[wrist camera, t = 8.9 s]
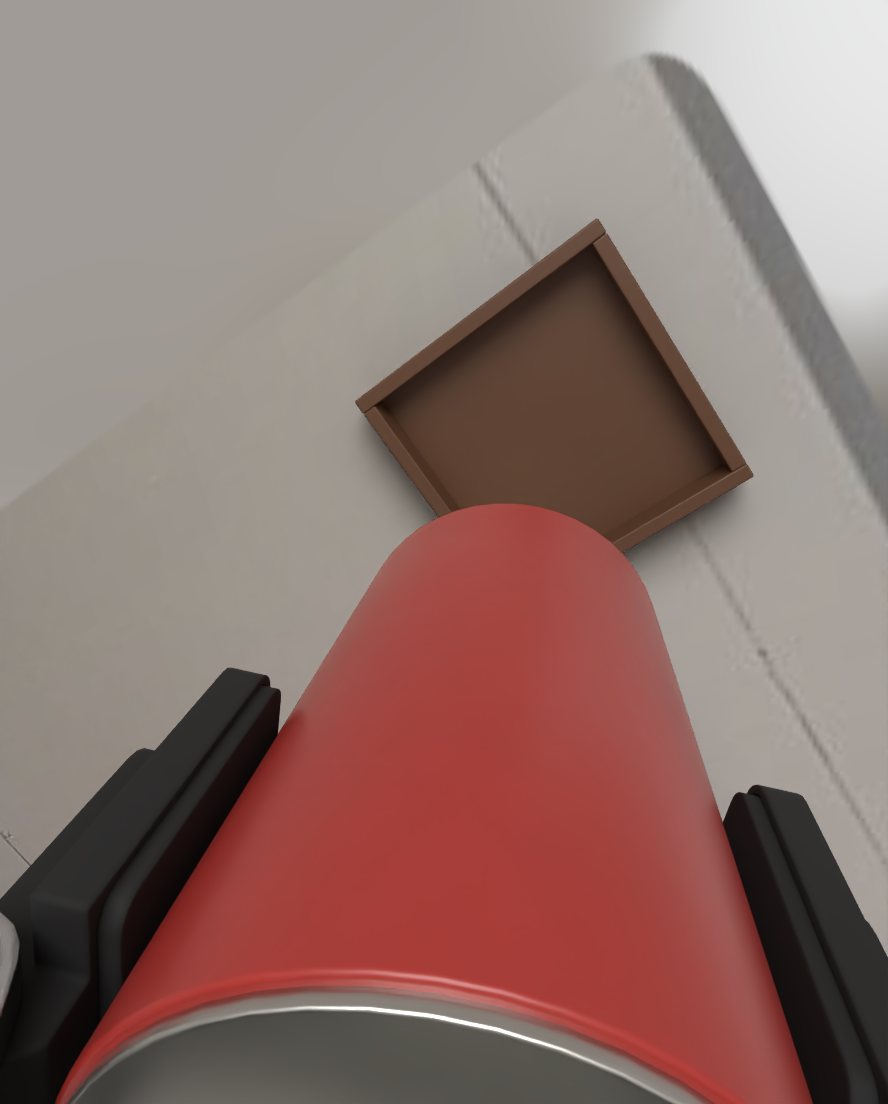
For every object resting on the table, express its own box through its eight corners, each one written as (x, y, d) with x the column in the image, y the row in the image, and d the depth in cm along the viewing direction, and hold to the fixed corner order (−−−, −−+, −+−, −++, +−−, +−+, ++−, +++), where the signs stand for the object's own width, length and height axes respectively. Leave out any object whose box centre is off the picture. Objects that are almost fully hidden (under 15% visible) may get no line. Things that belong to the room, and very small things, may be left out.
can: (307, 601, 15) (-124, 1145, 5) (550, 441, 13) (549, 849, 3) (470, 805, 16) (354, 1542, 7) (714, 687, 14) (1040, 1480, 5)
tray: (366, 394, 30) (353, 402, 28) (594, 222, 27) (597, 217, 25) (513, 597, 32) (511, 617, 30) (741, 464, 29) (754, 476, 27)
